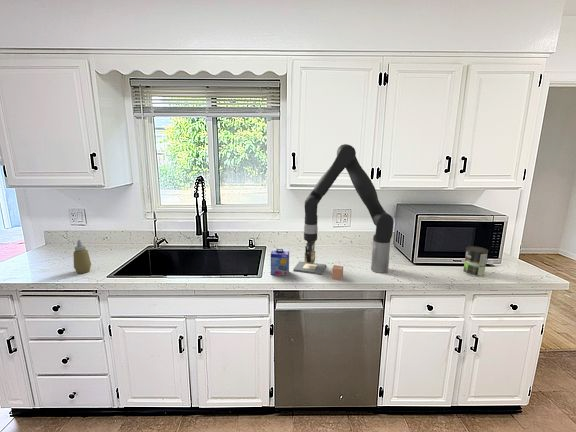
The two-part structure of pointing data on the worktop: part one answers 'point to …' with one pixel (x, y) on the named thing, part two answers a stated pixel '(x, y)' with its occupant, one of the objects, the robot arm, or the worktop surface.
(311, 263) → the maple block
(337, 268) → the terracotta block
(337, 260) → the worktop surface
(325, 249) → the worktop surface
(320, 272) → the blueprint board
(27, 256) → the worktop surface
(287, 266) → the ink cartridge box
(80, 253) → the squeeze bottle
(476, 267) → the coffee can
